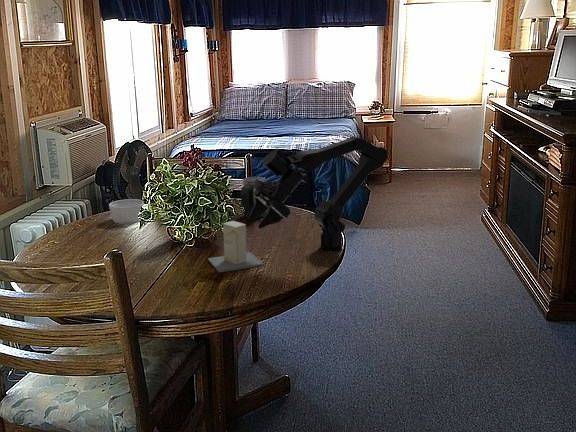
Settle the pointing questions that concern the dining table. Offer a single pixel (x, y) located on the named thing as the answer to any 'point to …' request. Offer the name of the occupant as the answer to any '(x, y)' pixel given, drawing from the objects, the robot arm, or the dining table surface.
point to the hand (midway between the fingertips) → (253, 223)
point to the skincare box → (234, 242)
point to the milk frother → (249, 195)
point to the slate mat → (225, 266)
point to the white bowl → (126, 210)
